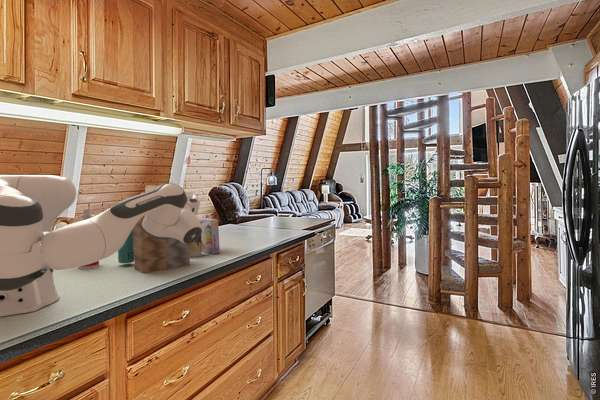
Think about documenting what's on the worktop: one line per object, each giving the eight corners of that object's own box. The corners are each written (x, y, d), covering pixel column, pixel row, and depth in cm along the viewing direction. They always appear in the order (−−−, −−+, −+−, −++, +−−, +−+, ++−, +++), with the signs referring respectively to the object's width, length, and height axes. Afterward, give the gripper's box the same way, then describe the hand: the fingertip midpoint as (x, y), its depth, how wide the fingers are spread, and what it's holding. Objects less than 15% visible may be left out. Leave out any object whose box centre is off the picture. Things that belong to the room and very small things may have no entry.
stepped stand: (142, 273, 136) (140, 203, 134) (134, 268, 143) (132, 202, 142) (189, 264, 149) (188, 201, 148) (180, 260, 157) (179, 200, 155)
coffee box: (200, 253, 171) (199, 222, 170) (202, 256, 165) (201, 224, 164) (181, 255, 168) (180, 223, 167) (182, 258, 162) (181, 225, 161)
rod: (163, 194, 126) (163, 186, 126) (145, 192, 141) (145, 185, 140) (171, 194, 128) (171, 186, 128) (152, 192, 143) (152, 185, 142)
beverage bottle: (128, 267, 145) (126, 221, 143) (114, 266, 146) (113, 220, 145) (138, 263, 151) (136, 219, 150) (125, 262, 152) (123, 218, 151)
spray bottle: (100, 266, 145) (98, 209, 144) (79, 269, 140) (77, 210, 139) (96, 263, 151) (94, 207, 150) (76, 266, 146) (74, 208, 145)
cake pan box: (191, 249, 181) (191, 217, 180) (199, 248, 185) (199, 216, 184) (211, 255, 169) (211, 220, 168) (220, 253, 172) (219, 219, 171)
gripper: (144, 218, 116) (133, 197, 124) (200, 214, 129) (187, 195, 138) (147, 203, 113) (135, 182, 121) (204, 201, 127) (190, 182, 135)
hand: (163, 189), depth 130 cm, fingers closed on rod, 3 cm apart
